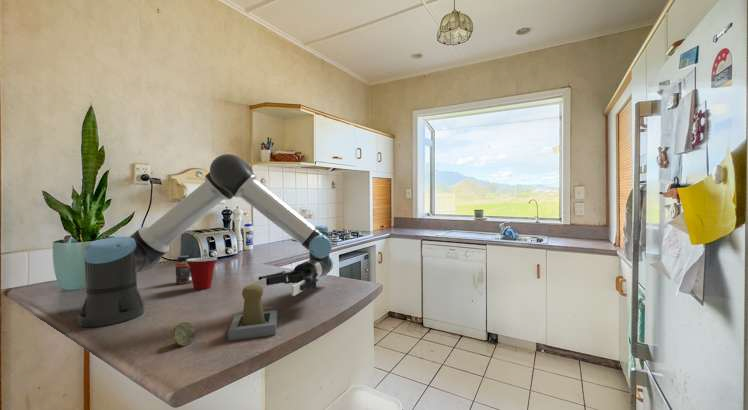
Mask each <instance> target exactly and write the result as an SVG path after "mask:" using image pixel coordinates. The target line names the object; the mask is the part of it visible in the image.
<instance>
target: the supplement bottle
mask: <svg viewBox="0 0 748 410" xmlns="http://www.w3.org/2000/svg"><path fill="white" fill-rule="evenodd" d="M187 259H190V256H189V255H180V256H178V257H177V261H176V262H175V283H176V284H177V285H185V284H189V283H193V282H192V278H191V274H190V269H189V265H188V262H187V261H186V260H187Z"/></svg>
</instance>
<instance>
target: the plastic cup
mask: <svg viewBox="0 0 748 410" xmlns="http://www.w3.org/2000/svg"><path fill="white" fill-rule="evenodd" d="M217 260H218V257H197V258H195V257H194V258H193V257H192V258H189V259H187V260H186V261H187V262H188V265H189V269H190V274H191V278H192V282H191V283H192V286H193V289H194V290H195V291H203V290H207V289H211V286H212V281H213V276H214V270H215V265H216V262H217Z"/></svg>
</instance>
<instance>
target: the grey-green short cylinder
mask: <svg viewBox="0 0 748 410" xmlns="http://www.w3.org/2000/svg"><path fill="white" fill-rule="evenodd" d="M196 334H197V331H196V328H195V325H194V324H192V323H190V322H186V321H185V322H180V323H179V324H178V325H176V326H175V327H174V328H173V331H172V333H171V338H172V340H173V342H174V344H177V345H178V346H182V347H183V346H187V345H189V344H190V343H191V342H193V340H194V338H196Z"/></svg>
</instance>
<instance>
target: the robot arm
mask: <svg viewBox="0 0 748 410" xmlns="http://www.w3.org/2000/svg"><path fill="white" fill-rule="evenodd" d="M232 198H241V199H242V200H243V201H245V202H246V203H247V204H249V205H250V206H251V207H253V208H254V209H255V210H256V211H258V212H259V213H260V214H261V215H263V216H264V217H265V218H267V220H269V221H271V222H272V224H275V225H276V226H277V227H278V228H280V229H281V230H282V231H283V232H285V233H286V234H287V235H288V236H290V237H291V238H293V239H294V240H295V241H296V242H297V243H299V244H300V245H301V246H302V247H304V249H306V250H307V251H308V253H309V255H308V256H309V257H308V259H309V260H306V261H304V262H301V263H300V264H299V263H298V264H297V265H296V266H295V267H294V268H293V270H291V271H287V272H286V271H284V270H283V271H281V272H276V273H273V274H266V275H261V276H258V279H257V280H256V281H254V282H252V283H250V285H260V286H261V287H262V288H263V289H265V288H267V286H273V285H277V284H279V285H280V284H285V285H286V284H293V285H291V296H293V297H295V296H296V295H298V294H300V293H302V292H304V291H306V290H309V289H310V288H312V289H314V290H315V289H317V282H319V278H322V277H324V276H326V275H327V274H329V273H330V272H331V271H332V270H333V268H334V262H333V259H332V257H331V256H330V254H331V251H332V248H333V242H332V240H331V239H330V237H329V235H330V233H329V227H328V226H327V225H313V224H312V223H311V222H310V221H308V220H307V219H306V218H305V217H303V216H302V215H301V214H299V213H298V212H297V211H296V210H295V209H293V208H292V207H291V206H290V205H288V204H287V203H286V202H285V201H283V200H282V199H281V198H280V197H278V196H277V195H276V193H273V192H272V191H271V190H270V189H269V188H267V187H266V186H265V185H263V184H262V183H261V182H260V181H259V180H258V179H257V175H256V174H255V173H254V171H253V169H252V167H251V165H250V163H248V162H247V161H246V160H244V159H242V158H241V157H239V156H237V155H235V154H230V153H227V154H226V153H225V154H221V155H219V156H217V157H215V158H214V159H213V160H212V162H211V163H210V166H209V172H208V173H207V174H205V175H204V182H203V183H202V184H200V185H199V186H198V187H197V188H195V189H194V190H193V191H192V192H190V193H189V194H188V195H187V196H186V197H184V198H183V199H181V201H179V202H178V203H177V204H176V205H174V206H173V207H172V208H171V209H169V210H168V211H167V212H166V213H165V214H163V215H162V216H161V217H160V218H158V220H156V221H154V223H152V224H151V225H150V226H147V227H146V226H145V227H144V226H143V227H140V228H139V229H137V230H136V231H134V232H133V233H132V234H131V235H130V236H113V237H107V238H102V239H101V238H100V239H97V240H94V241H91V242H89V243H88V244H86V245H85V248H84V255H83V260H84V275H85V276H84V277H85V298H84V301H83V303H82V306H81V309H80V311H79V314H78V318H77V319H78V325H79V326H80V327H84V328H87V327H88V328H90V327H91V328H93V327H103V326H110V325H115V324H118V323H123V322H126V321H129V320H132V319H135V318H137V317H140V316H141V315H143V314H144V313H145V312H146V309H145V306H146V305H145V302H144V300H143V298H142V296H141V294H140V292H139V290H138V284H137V283H138V282H137V281H138V279H137V274H138V273H140V272H143V271H146V270H149V269H150V268H153V267H154V266H155V265H157V264H158V263H159V262H160V260H161V259H162V257H164V255H165V254H166V253H168V252H169V250H170V245H171V243H173V242H174V241H175V240H176V239H178V238H179V237H180V236H182V235H183V234H184V233H185V232H186V231H187V230H188V229H190V228H191V227H192V226H193V225H194V224H195V223H197V222H198V221H199V220H200V219H202V218H203V217H204V216H205V215H207V214H208V213H209V212H210V211H211V210H212V209H214V208H215V207H216V206H217V205H219V204H220V203H222V201H223V200H224V201H226V200H228V201H230V200H231V199H232Z"/></svg>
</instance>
